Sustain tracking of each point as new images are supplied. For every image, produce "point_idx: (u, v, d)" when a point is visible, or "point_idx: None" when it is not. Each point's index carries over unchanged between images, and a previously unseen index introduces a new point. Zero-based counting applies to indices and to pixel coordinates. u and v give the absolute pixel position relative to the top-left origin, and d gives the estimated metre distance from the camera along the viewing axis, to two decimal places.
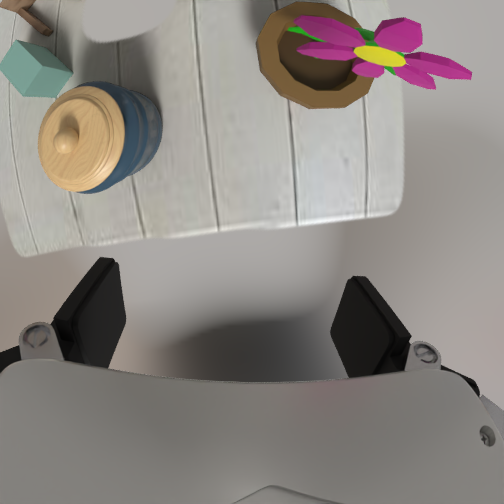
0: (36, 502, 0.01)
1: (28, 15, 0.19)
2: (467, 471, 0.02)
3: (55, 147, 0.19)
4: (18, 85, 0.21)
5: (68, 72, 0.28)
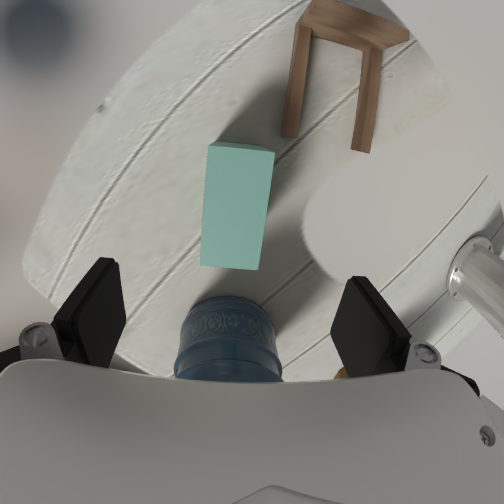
0: (36, 502, 0.01)
1: (304, 66, 0.22)
2: (467, 471, 0.02)
3: None
4: (208, 241, 0.22)
5: None
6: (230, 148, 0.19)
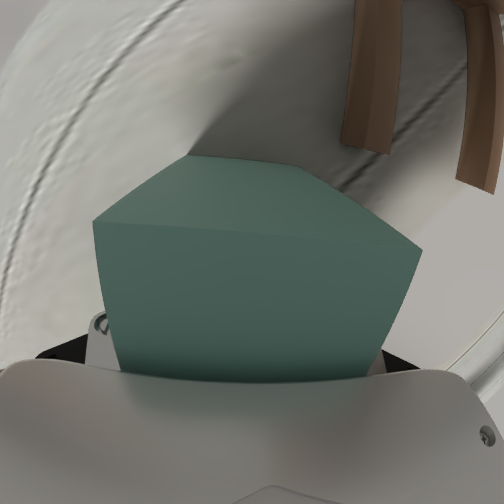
0: (36, 502, 0.01)
1: None
2: (467, 471, 0.02)
3: None
4: None
5: None
6: (209, 234, 0.04)
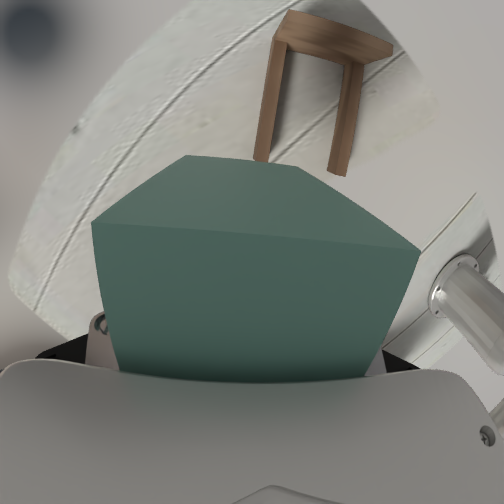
0: (36, 502, 0.01)
1: (278, 85, 0.22)
2: (467, 471, 0.02)
3: None
4: None
5: None
6: (207, 236, 0.04)
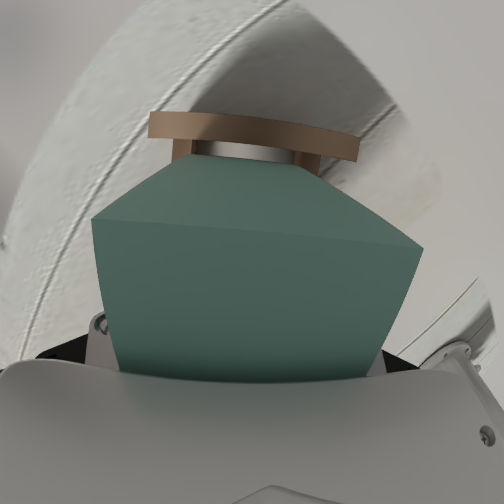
0: (36, 502, 0.01)
1: None
2: (467, 471, 0.02)
3: None
4: None
5: None
6: (208, 232, 0.03)
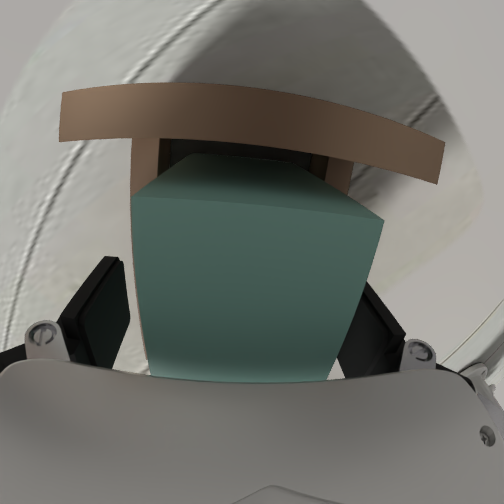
0: (36, 502, 0.01)
1: None
2: (467, 471, 0.02)
3: None
4: None
5: None
6: (218, 206, 0.05)
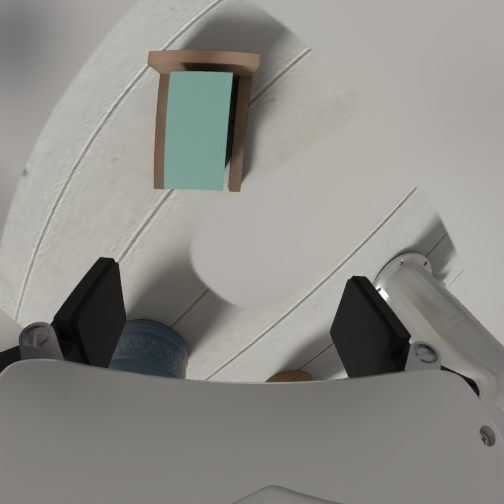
0: (36, 502, 0.01)
1: (165, 117, 0.25)
2: (467, 471, 0.02)
3: None
4: (171, 161, 0.21)
5: None
6: (190, 72, 0.18)
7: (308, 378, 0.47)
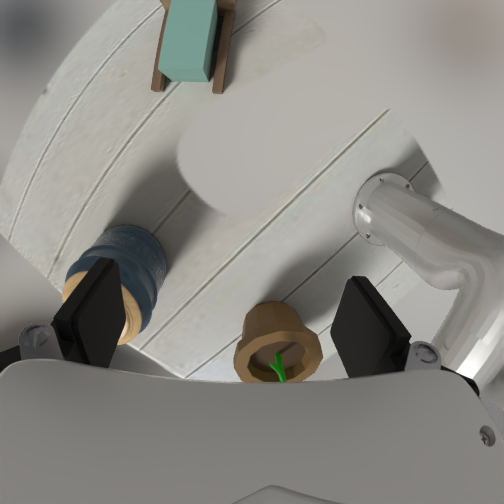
0: (36, 502, 0.01)
1: None
2: (467, 471, 0.02)
3: None
4: (165, 50, 0.23)
5: (207, 80, 0.31)
6: None
7: (292, 311, 0.47)
